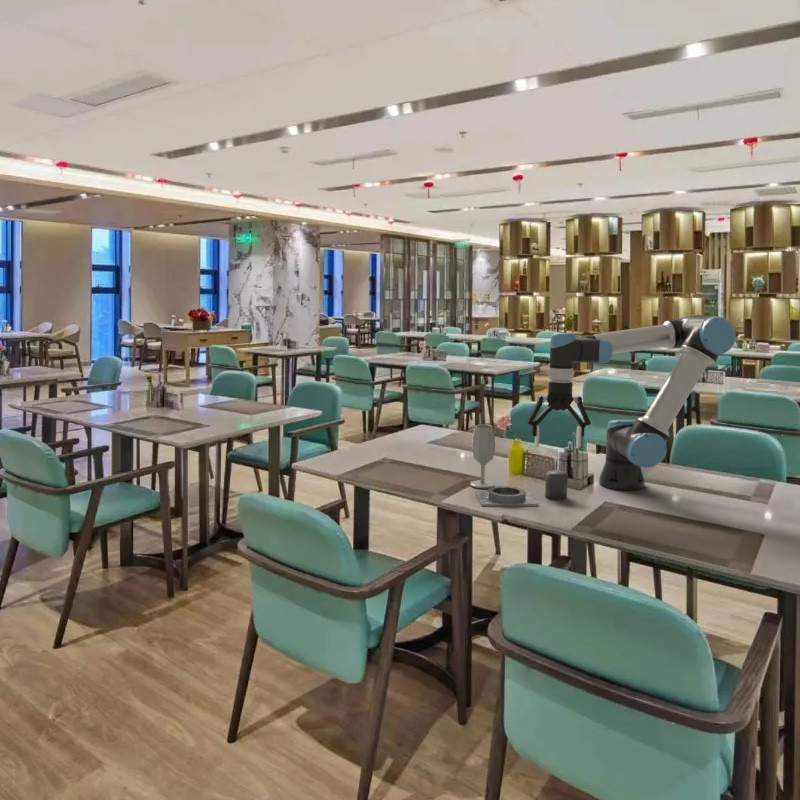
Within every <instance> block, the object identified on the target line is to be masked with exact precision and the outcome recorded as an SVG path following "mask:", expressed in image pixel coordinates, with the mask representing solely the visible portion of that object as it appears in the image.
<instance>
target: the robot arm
mask: <svg viewBox="0 0 800 800" xmlns="http://www.w3.org/2000/svg"><path fill="white" fill-rule="evenodd" d="M735 330H736V329H735V327H734V325H733V324H732V322H730V320H728V319H727V318H725V317H721V316H718V315H701V314H696V315H695V314H694V315H690V316H685V317H681V318H676V319H671V320H665V321H664V322H663V323H662V324H658V325H651V326H650V325H649V326H644V327H637V328H631V329H624V330H615V331H609V332H602V333H595V334H588V335H582V336H581V335H576V333H574V332H559V331H558V332H553V333H552V334H551V337H550V344H549V350H550V351H549V371H548V379H549V381H548V387H547V388H548V389H547V390H548V391H547V396H542V395H538V396H537V400H536V403H535V405H534V407H533V408H532V411H531V412H530V414H529V416H528V418H527V420H526V423H527V424H528V425H530V426H531V435H532V436H533V437H534V446H535V447H536V448H537V447H538V448H539V446H540V426H539V424H540V423H541V422H543V420H544V419H545V418H546V417H547V416H548V414H549V413H550V412H552V411H553V410H554V411H559V410H560V411H566V410H567V411H568V412H569V413H570V415H571V416H572V417H573V418H574V420H575V421H576V422H577V424H578V425H576V436H575V437H576V438H575V446H576V447H577V448H581V446H582V443H581V442H582V438H583V437H585V428H586V427H587V426H590V425H591V422H592V421H591V420H590V419H589V416H588V413H587V411H586V409H585V407H584V405H583V397H582V396H580V395H576V396H573V382H572V381H573V380H574V364H579V363H580V364H581V363H585V364H586V363H588V364H589V363H590V364H602V363H603V364H604V363H605V364H607V363H609V362H610V361H611V359H612V357H613V355H617V354H623V353H630V352H637V351H643V350H650V349H659V348H666V349H668V350H672V349H673V350H674V349H681V352H682V353H681V354H680V357H679V358H678V360H677V361H676V363H675V365H674V366H673V368H672V370H671V372H670V373H669V374H668V375H667V376H668V377H667V378H666V379H665V381H664V382H663V385H662V386H661V388H660V389H659V391H658V393H657V394H656V396H655V398H654V399H653V401H652V403H651V405H649V407H648V409H647V411H646V412H645V414H644V415H643V416H640V417H637V418H636V419H611V420H609V421H608V422H607V428H606V440H605V441H606V447H605V463H604V465H603V467H602V470H601V471H600V475H599V478H598V481H599V483H598V484H599V485H600V486H602V487H605V488H607V489H612V490H617V491H637V490H642V489H644V488H645V476H644V473H643V470H642V468H652V467H654V466H657V465H659V464H660V463H661V462H662V461H663V460H664V458H665V457H666V454H667V451H668V450H667V449H668V448H667V441H668V440H669V438H670V437H671V436H670V432H669V430H670V427H671V426H672V424H673V422H674V420H675V419H676V417H677V416H678V414H679V412H680V410H681V409H682V408H683V406H684V404H685V403H686V401H687V399H688V398H689V396H690V394H691V393H692V391H693V390H694V388H695V386H696V385H697V383H698V382H699V380H700V378H701V377H702V375H703V373H704V372H705V370H706V368H707V367H708V366H711V365H715V363H716V361H717V360H718V359H719V357H720V355H723V354H725V353H727V352H729V351H730V350H731V349H732V348H733V346H734V344H735V342H736V336H737V334H736V331H735ZM545 402H547V403H548V404H547V405H546V406H545V408H544V409H543V410H542V411H541V412H540V413H539V411H540V409H541V408H542V406H543V404H544V403H545ZM573 402H574V403H575V404H576V405H577V408H578V410H579V413H580V415H581V417H582V419H583V420H582V419H581V417H580V416H579V415H578V414H577V412H576V411H575V409H574V408H573V407H572V406H571V405H572V403H573ZM538 413H539V414H538Z"/></svg>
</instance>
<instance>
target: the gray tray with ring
mask: <svg viewBox="0 0 800 800" xmlns="http://www.w3.org/2000/svg"><path fill="white" fill-rule="evenodd" d="M475 496H476V498H477V500H478V502H479V504H480V506H481V507H539V502H538V500H537V499H536V498H535V497H534V496H533V495H532V493H531V492H530V491H528V492H526V491H525V490H524V489H522V488H520V487H516V486H507V485H506V486H505V485H501V486H495V487H492V488H488V489H487V491H486V492H485V491H483V492H482V491H481V492H478V491H477V492H475Z"/></svg>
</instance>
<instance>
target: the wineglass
mask: <svg viewBox="0 0 800 800" xmlns="http://www.w3.org/2000/svg"><path fill="white" fill-rule="evenodd" d="M471 452H472V455H473V459H474V460H475V461H476V462H477V463H478V464H480V480H472V481H469V483H470V487H473V488H474V489H475V488H476V489H484V490H485V489H487V490H488V489H490V488H492V487H496V485H495V482H494V481H490V480H485V475H486V474H485V472H486V470H485V469H486V465H488V464H489V463H490V462H491V461H492V460H493V459H494V456H495V453H496V437H495V431H494V428H493V426H492V425H490V424H475V427H474V429H473V434H472V439H471Z"/></svg>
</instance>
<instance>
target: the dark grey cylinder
mask: <svg viewBox="0 0 800 800" xmlns="http://www.w3.org/2000/svg"><path fill="white" fill-rule="evenodd" d="M568 475H569V473H567V472H566V471H564V470H557V469H556V470H555V469H554V470H548V471H546V472H545V485H544V486H545V487H544V497H545V498H546V499H547V500H550V501H551V500H552V501H564V500H567V498H568V481H569V480H568V478H569V477H568Z"/></svg>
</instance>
